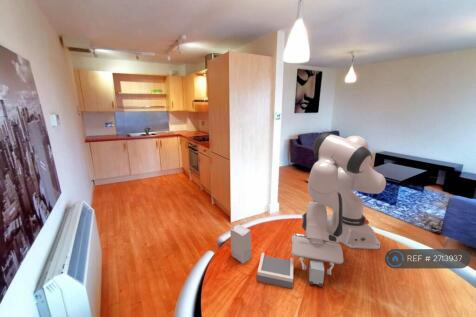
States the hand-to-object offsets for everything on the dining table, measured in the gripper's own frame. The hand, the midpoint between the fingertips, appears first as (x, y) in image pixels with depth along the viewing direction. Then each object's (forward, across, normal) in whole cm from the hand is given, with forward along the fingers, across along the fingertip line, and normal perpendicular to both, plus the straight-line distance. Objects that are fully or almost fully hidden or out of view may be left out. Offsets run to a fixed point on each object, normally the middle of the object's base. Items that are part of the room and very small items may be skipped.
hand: (316, 272), depth 85 cm
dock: (+3, -16, +4) cm, 17 cm away
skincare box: (-1, -33, +8) cm, 34 cm away
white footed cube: (+3, 0, +4) cm, 5 cm away
